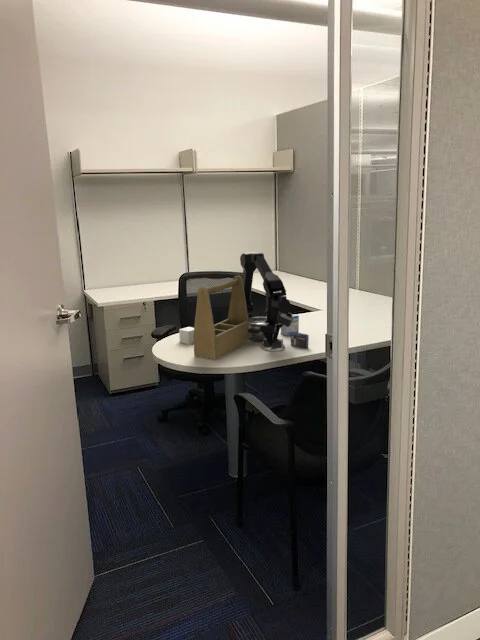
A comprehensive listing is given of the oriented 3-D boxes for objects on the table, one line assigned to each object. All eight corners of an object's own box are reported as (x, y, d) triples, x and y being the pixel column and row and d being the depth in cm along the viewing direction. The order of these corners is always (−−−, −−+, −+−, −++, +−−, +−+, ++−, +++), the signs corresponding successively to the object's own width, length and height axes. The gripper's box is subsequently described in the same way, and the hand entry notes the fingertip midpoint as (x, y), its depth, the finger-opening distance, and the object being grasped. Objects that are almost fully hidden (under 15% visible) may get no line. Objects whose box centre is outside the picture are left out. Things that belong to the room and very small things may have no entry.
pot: (239, 341, 231) (239, 324, 229) (253, 331, 248) (252, 314, 246) (268, 344, 226) (268, 326, 224) (280, 333, 243) (280, 316, 241)
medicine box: (287, 336, 239) (287, 318, 237) (280, 334, 242) (280, 316, 240) (298, 332, 244) (299, 315, 242) (292, 331, 247) (292, 313, 245)
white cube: (188, 344, 228) (188, 331, 227) (179, 342, 232) (179, 329, 231) (198, 341, 233) (198, 328, 231) (189, 339, 236) (188, 326, 235)
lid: (257, 350, 219) (257, 341, 218) (265, 343, 228) (265, 335, 227) (281, 352, 215) (281, 343, 214) (287, 346, 225) (287, 337, 224)
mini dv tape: (290, 345, 225) (290, 332, 223) (292, 344, 226) (293, 331, 224) (306, 349, 219) (306, 335, 218) (308, 348, 220) (308, 334, 219)
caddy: (215, 360, 206) (213, 287, 198) (193, 357, 211) (190, 285, 203) (249, 342, 230) (248, 276, 223) (229, 339, 235) (227, 274, 228)
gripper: (285, 314, 206) (285, 351, 210) (297, 304, 223) (296, 338, 227) (259, 312, 210) (259, 348, 214) (272, 303, 227) (272, 336, 231)
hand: (273, 342), depth 221 cm, fingers open, 7 cm apart
